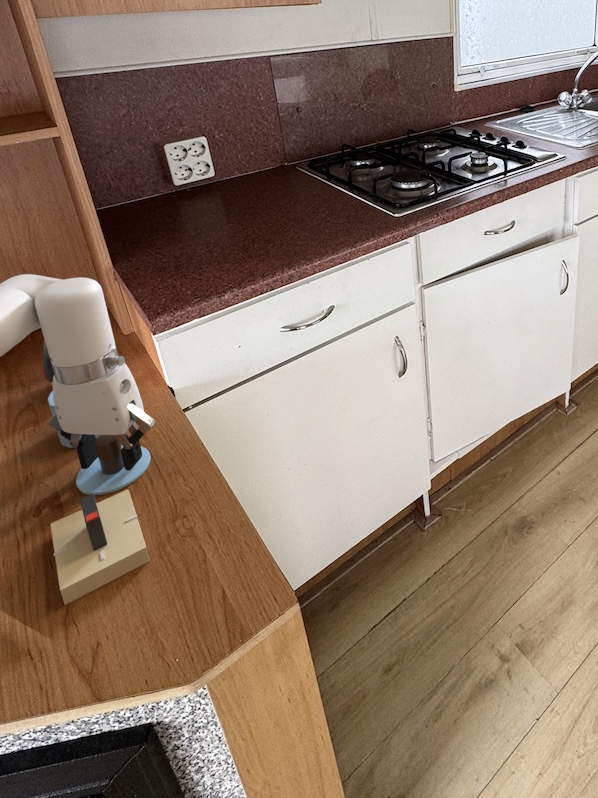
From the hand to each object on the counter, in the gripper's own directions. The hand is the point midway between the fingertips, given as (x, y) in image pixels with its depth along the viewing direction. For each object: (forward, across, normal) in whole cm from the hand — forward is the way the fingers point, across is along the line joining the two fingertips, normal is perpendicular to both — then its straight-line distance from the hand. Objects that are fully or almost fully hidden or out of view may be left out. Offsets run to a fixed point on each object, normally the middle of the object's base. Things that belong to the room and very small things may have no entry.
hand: (112, 461), depth 88 cm
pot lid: (+2, 0, 0) cm, 2 cm away
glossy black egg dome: (+2, +20, -21) cm, 29 cm away
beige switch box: (+2, -7, +13) cm, 15 cm away
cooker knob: (-1, -7, +13) cm, 15 cm away
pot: (+2, +10, -9) cm, 13 cm away
